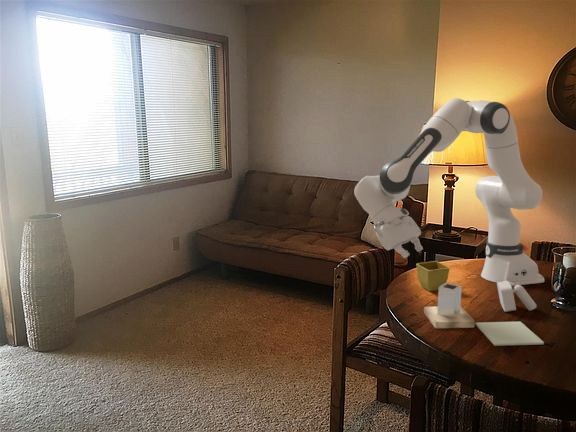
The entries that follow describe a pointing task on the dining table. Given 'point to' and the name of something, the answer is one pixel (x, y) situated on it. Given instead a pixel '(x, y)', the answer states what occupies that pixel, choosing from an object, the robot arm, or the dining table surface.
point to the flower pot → (432, 275)
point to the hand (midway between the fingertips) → (414, 253)
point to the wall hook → (508, 297)
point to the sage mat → (508, 333)
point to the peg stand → (449, 319)
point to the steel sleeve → (449, 300)
